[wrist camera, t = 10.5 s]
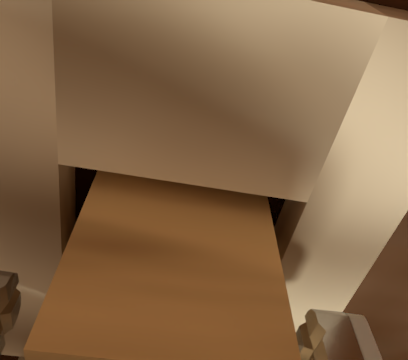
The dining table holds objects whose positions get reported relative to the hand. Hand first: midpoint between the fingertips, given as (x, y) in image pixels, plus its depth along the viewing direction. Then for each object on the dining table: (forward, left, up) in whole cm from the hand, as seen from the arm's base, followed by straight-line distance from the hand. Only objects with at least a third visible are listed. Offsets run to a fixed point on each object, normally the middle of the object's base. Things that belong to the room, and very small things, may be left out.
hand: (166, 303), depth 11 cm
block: (0, 0, -3) cm, 3 cm away
